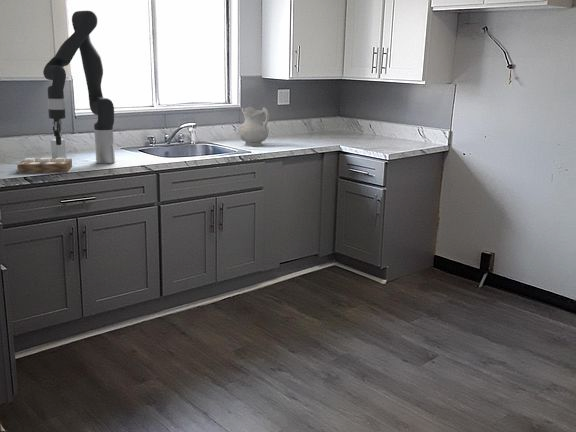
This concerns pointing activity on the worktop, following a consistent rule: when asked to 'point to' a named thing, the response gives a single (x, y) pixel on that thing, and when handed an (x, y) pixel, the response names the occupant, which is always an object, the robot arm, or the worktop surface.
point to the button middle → (45, 160)
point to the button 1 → (29, 160)
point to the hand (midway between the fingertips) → (58, 144)
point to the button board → (44, 166)
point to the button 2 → (60, 159)
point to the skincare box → (58, 149)
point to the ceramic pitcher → (254, 126)
